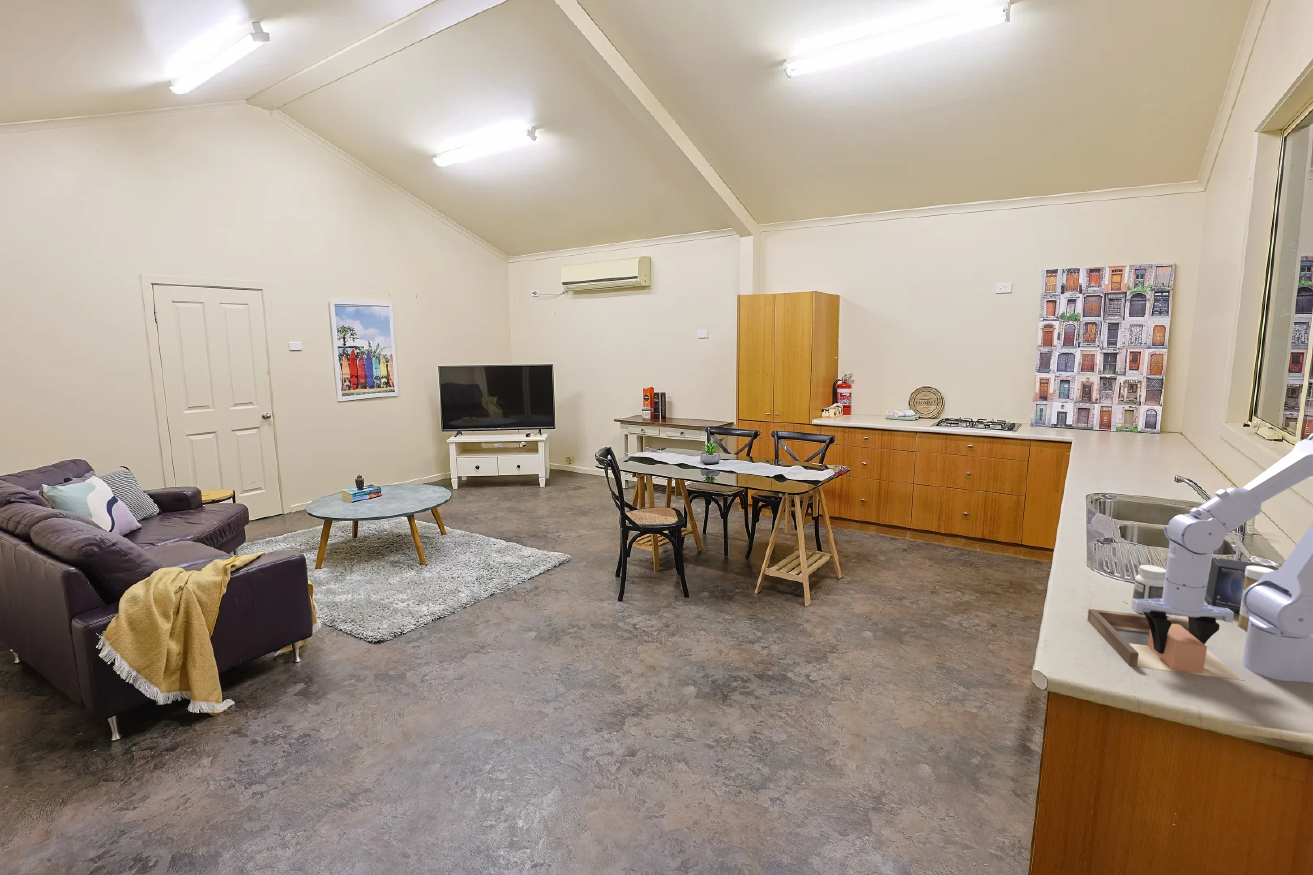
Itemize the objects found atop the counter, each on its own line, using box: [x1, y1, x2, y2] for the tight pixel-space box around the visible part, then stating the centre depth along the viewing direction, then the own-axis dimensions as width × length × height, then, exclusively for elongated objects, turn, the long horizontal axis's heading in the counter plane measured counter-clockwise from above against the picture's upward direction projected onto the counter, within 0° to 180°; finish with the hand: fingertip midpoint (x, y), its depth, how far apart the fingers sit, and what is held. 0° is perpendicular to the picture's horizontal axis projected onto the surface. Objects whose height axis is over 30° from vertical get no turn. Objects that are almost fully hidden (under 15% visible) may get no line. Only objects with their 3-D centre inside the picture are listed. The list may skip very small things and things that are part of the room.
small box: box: [1204, 556, 1278, 615], centre depth 136 cm, size 11×6×10 cm, turn 60°
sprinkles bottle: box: [1236, 566, 1274, 633], centre depth 125 cm, size 5×5×14 cm
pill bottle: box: [1132, 564, 1166, 615], centre depth 134 cm, size 6×6×10 cm
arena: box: [1087, 608, 1245, 681], centre depth 117 cm, size 17×19×4 cm
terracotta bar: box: [1148, 624, 1208, 674], centre depth 112 cm, size 9×4×5 cm, turn 164°
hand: (1175, 653), depth 112 cm, fingers closed on terracotta bar, 4 cm apart
